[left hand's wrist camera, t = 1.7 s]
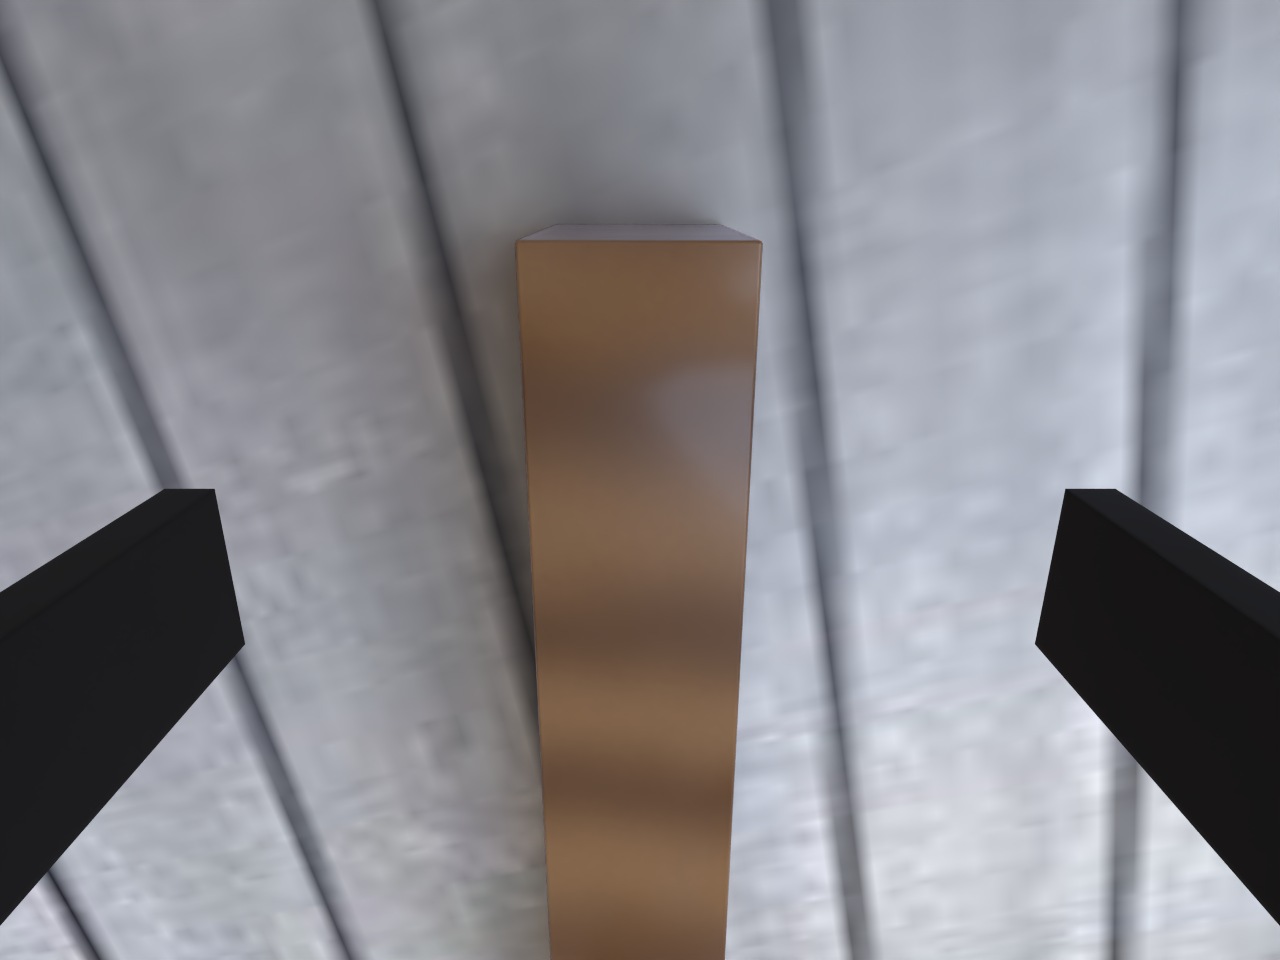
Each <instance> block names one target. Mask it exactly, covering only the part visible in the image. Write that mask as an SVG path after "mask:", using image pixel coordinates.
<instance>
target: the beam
mask: <svg viewBox="0 0 1280 960" xmlns="http://www.w3.org/2000/svg"><path fill="white" fill-rule="evenodd" d="M762 247H763V244H762V241H759V240H757V239H755V238H752V237H750V236H747V235H745V234H743V233H740V232H738V231H735V230H733V229H731V228H728V227H726V226H723V225H574V224H556V225H554V226H551V227H549V228H546V229H544V230H541V231H539V232H536V233H534V234H532V235H529V236H527V237H524V238H522V239H519V240H517V241H516V242H515V255H516V275H517V295H518V315H519V335H520V355H521V375H522V396H523V416H524V436H525V456H526V476H527V496H528V516H529V536H530V556H531V576H532V596H533V617H534V637H535V657H536V677H537V697H538V717H539V737H540V757H541V777H542V797H543V817H544V838H545V858H546V878H547V898H548V918H549V938H550V958H551V960H725V945H726V926H727V907H728V889H729V870H730V851H731V832H732V813H733V794H734V775H735V756H736V738H737V719H738V700H739V681H740V662H741V643H742V624H743V605H744V587H745V568H746V549H747V530H748V511H749V492H750V473H751V454H752V436H753V417H754V398H755V379H756V360H757V341H758V322H759V304H760V285H761V266H762Z"/></svg>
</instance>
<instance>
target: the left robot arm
mask: <svg viewBox="0 0 1280 960" xmlns="http://www.w3.org/2000/svg"><path fill="white" fill-rule="evenodd" d="M244 645H245V641H244V636H243V631H242V626H241V621H240V616H239V611H238V606H237V601H236V596H235V591H234V586H233V581H232V575H231V570H230V565H229V560H228V555H227V550H226V545H225V540H224V535H223V530H222V525H221V520H220V514H219V509H218V504H217V499H216V494H215V489H164V490H162V491H161V492H159V493H157V494H156V495H154V496H153V497H151V498H150V499H148V500H146V501H145V502H143V503H142V504H140V505H138V506H137V507H135V508H134V509H132V510H130V511H129V512H127V513H126V514H124V515H123V516H121V517H119V518H118V519H116V520H115V521H113V522H111V523H110V524H108V525H107V526H105V527H103V528H102V529H100V530H99V531H97V532H95V533H94V534H92V535H91V536H89V537H88V538H86V539H84V540H83V541H81V542H80V543H78V544H76V545H75V546H73V547H72V548H70V549H68V550H67V551H65V552H64V553H62V554H61V555H59V556H57V557H56V558H54V559H53V560H51V561H49V562H48V563H46V564H45V565H43V566H41V567H40V568H38V569H37V570H35V571H33V572H32V573H30V574H29V575H27V576H26V577H24V578H22V579H21V580H19V581H18V582H16V583H14V584H13V585H11V586H10V587H8V588H6V589H5V590H3V591H2V592H0V925H1V924H2V923H3V922H4V921H5V919H6V918H7V917H8V916H9V915H10V914H11V913H12V911H13V910H14V909H15V908H16V907H17V906H18V905H19V903H20V902H21V901H22V900H23V899H24V898H25V897H26V895H27V894H28V893H29V892H30V891H31V890H32V888H33V887H34V886H35V885H36V884H37V883H38V882H39V880H40V879H41V878H42V877H43V876H44V875H45V874H46V872H47V871H48V870H49V869H50V868H51V867H52V865H53V864H54V863H55V862H56V861H57V860H58V859H59V857H60V856H61V855H62V854H63V853H64V852H65V851H66V849H67V848H68V847H69V846H70V845H71V844H72V842H73V841H74V840H75V839H76V838H77V837H78V836H79V834H80V833H81V832H82V831H83V830H84V829H85V828H86V826H87V825H88V824H89V823H90V822H91V821H92V819H93V818H94V817H95V816H96V815H97V814H98V813H99V811H100V810H101V809H102V808H103V807H104V806H105V805H106V803H107V802H108V801H109V800H110V799H111V798H112V796H113V795H114V794H115V793H116V792H117V791H118V790H119V788H120V787H121V786H122V785H123V784H124V783H125V782H126V780H127V779H128V778H129V777H130V776H131V775H132V773H133V772H134V771H135V770H136V769H137V768H138V767H139V765H140V764H141V763H142V762H143V761H144V760H145V759H146V757H147V756H148V755H149V754H150V753H151V752H152V750H153V749H154V748H155V747H156V746H157V745H158V744H159V742H160V741H161V740H162V739H163V738H164V737H165V736H166V734H167V733H168V732H169V731H170V730H171V729H172V727H173V726H174V725H175V724H176V723H177V722H178V721H179V719H180V718H181V717H182V716H183V715H184V714H185V713H186V711H187V710H188V709H189V708H190V707H191V706H192V704H193V703H194V702H195V701H196V700H197V699H198V698H199V696H200V695H201V694H202V693H203V692H204V691H205V690H206V688H207V687H208V686H209V685H210V684H211V683H212V681H213V680H214V679H215V678H216V677H217V676H218V675H219V673H220V672H221V671H222V670H223V669H224V668H225V667H226V665H227V664H228V663H229V662H230V661H231V660H232V659H233V657H234V656H235V655H236V654H237V653H238V652H239V650H240V649H241V648H242V647H243V646H244ZM1035 645H1036V646H1037V647H1038V648H1039V649H1040V650H1041V652H1042V653H1043V654H1044V655H1045V656H1046V657H1047V659H1048V660H1049V661H1050V662H1051V663H1052V664H1053V665H1054V667H1055V668H1056V669H1057V670H1058V671H1059V672H1060V673H1061V675H1062V676H1063V677H1064V678H1065V679H1066V680H1067V681H1068V683H1069V684H1070V685H1071V686H1072V687H1073V688H1074V690H1075V691H1076V692H1077V693H1078V694H1079V695H1080V696H1081V698H1082V699H1083V700H1084V701H1085V702H1086V703H1087V704H1088V706H1089V707H1090V708H1091V709H1092V710H1093V711H1094V713H1095V714H1096V715H1097V716H1098V717H1099V718H1100V719H1101V721H1102V722H1103V723H1104V724H1105V725H1106V726H1107V727H1108V729H1109V730H1110V731H1111V732H1112V733H1113V734H1114V736H1115V737H1116V738H1117V739H1118V740H1119V741H1120V742H1121V744H1122V745H1123V746H1124V747H1125V748H1126V749H1127V750H1128V752H1129V753H1130V754H1131V755H1132V756H1133V757H1134V759H1135V760H1136V761H1137V762H1138V763H1139V764H1140V765H1141V767H1142V768H1143V769H1144V770H1145V771H1146V772H1147V773H1148V775H1149V776H1150V777H1151V778H1152V779H1153V780H1154V782H1155V783H1156V784H1157V785H1158V786H1159V787H1160V788H1161V790H1162V791H1163V792H1164V793H1165V794H1166V795H1167V796H1168V798H1169V799H1170V800H1171V801H1172V802H1173V803H1174V805H1175V806H1176V807H1177V808H1178V809H1179V810H1180V811H1181V813H1182V814H1183V815H1184V816H1185V817H1186V818H1187V819H1188V821H1189V822H1190V823H1191V824H1192V825H1193V826H1194V828H1195V829H1196V830H1197V831H1198V832H1199V833H1200V834H1201V836H1202V837H1203V838H1204V839H1205V840H1206V841H1207V842H1208V844H1209V845H1210V846H1211V847H1212V848H1213V849H1214V851H1215V852H1216V853H1217V854H1218V855H1219V856H1220V857H1221V859H1222V860H1223V861H1224V862H1225V863H1226V864H1227V865H1228V867H1229V868H1230V869H1231V870H1232V871H1233V872H1234V874H1235V875H1236V876H1237V877H1238V878H1239V879H1240V880H1241V882H1242V883H1243V884H1244V885H1245V886H1246V887H1247V888H1248V890H1249V891H1250V892H1251V893H1252V894H1253V895H1254V897H1255V898H1256V899H1257V900H1258V901H1259V902H1260V903H1261V905H1262V906H1263V907H1264V908H1265V909H1266V910H1267V911H1268V913H1269V914H1270V915H1271V916H1272V917H1273V918H1274V920H1275V921H1276V922H1277V923H1278V924H1279V925H1280V592H1278V591H1277V590H1275V589H1274V588H1272V587H1270V586H1269V585H1267V584H1266V583H1264V582H1262V581H1261V580H1259V579H1258V578H1256V577H1254V576H1253V575H1251V574H1250V573H1248V572H1247V571H1245V570H1243V569H1242V568H1240V567H1239V566H1237V565H1235V564H1234V563H1232V562H1231V561H1229V560H1227V559H1226V558H1224V557H1223V556H1221V555H1219V554H1218V553H1216V552H1215V551H1213V550H1212V549H1210V548H1208V547H1207V546H1205V545H1204V544H1202V543H1200V542H1199V541H1197V540H1196V539H1194V538H1192V537H1191V536H1189V535H1188V534H1186V533H1185V532H1183V531H1181V530H1180V529H1178V528H1177V527H1175V526H1173V525H1172V524H1170V523H1169V522H1167V521H1165V520H1164V519H1162V518H1161V517H1159V516H1157V515H1156V514H1154V513H1153V512H1151V511H1150V510H1148V509H1146V508H1145V507H1143V506H1142V505H1140V504H1138V503H1137V502H1135V501H1134V500H1132V499H1130V498H1129V497H1127V496H1126V495H1124V494H1123V493H1121V492H1119V491H1118V490H1116V489H1065V494H1064V499H1063V504H1062V509H1061V514H1060V520H1059V525H1058V530H1057V535H1056V540H1055V545H1054V550H1053V555H1052V560H1051V565H1050V570H1049V575H1048V580H1047V586H1046V591H1045V596H1044V601H1043V606H1042V611H1041V616H1040V621H1039V626H1038V631H1037V636H1036V641H1035Z"/></svg>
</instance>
